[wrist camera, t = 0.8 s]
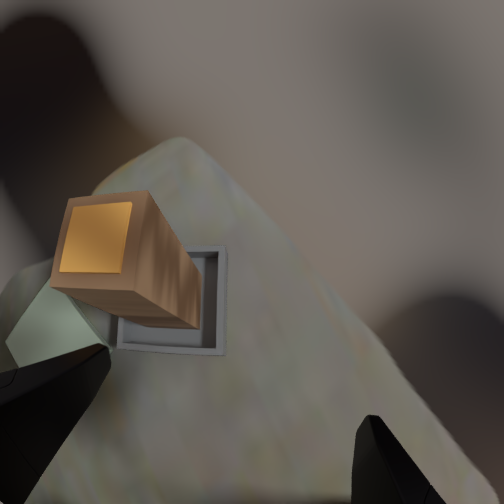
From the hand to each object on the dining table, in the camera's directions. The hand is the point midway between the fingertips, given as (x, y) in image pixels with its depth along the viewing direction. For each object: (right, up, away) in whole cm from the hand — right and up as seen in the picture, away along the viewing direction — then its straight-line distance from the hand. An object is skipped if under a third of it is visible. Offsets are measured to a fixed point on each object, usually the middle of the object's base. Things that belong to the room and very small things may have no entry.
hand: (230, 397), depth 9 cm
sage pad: (-18, -5, +14) cm, 24 cm away
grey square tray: (-6, 0, +16) cm, 17 cm away
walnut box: (-6, +1, +15) cm, 16 cm away
